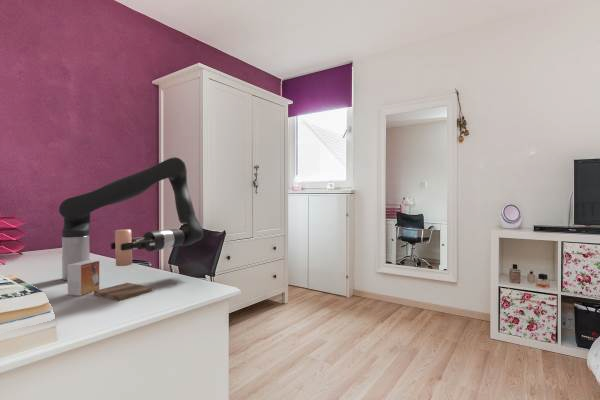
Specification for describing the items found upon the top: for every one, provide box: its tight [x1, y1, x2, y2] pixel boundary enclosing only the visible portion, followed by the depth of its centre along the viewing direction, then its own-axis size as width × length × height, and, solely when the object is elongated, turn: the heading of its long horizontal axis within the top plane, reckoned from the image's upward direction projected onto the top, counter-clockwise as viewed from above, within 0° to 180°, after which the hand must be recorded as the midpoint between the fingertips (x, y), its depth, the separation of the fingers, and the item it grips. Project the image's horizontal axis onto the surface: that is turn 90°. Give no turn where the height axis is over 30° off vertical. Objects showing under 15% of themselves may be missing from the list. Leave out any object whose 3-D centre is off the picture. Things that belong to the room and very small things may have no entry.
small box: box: [67, 260, 100, 297], centre depth 113 cm, size 8×6×10 cm
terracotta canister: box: [114, 228, 133, 267], centre depth 112 cm, size 5×5×12 cm
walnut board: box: [93, 282, 153, 302], centre depth 112 cm, size 14×12×1 cm
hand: (116, 246), depth 110 cm, fingers closed on terracotta canister, 5 cm apart
